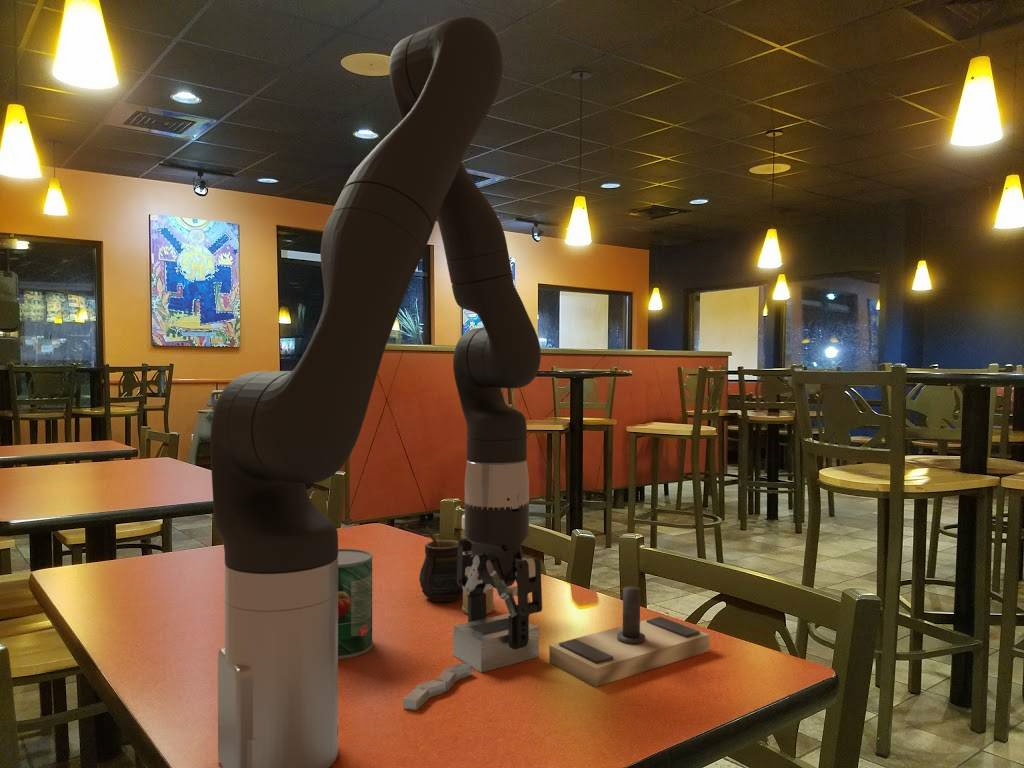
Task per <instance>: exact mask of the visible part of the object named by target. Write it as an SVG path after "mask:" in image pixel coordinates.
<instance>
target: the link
mask: <svg viewBox="0 0 1024 768" xmlns="http://www.w3.org/2000/svg"><path fill="white" fill-rule="evenodd" d="M508 616H510V614H509V612H508V613H505V614H501V615H494V616H492V617H486V619H481V620H477V621H472V622H468V621H467V622H464V623H461V624H456V625H453V629H452V630H453V631H452V632H453V633H452V634H453V639H452V640H453V641H452V642H453V650H452V653H453V656H454V657H455V658H457V659H458V660H460V661H462V663H463V662H465V663H467V664H470V665H472V669H475V671H478V672H480V673H485V672H488V671H492V670H495V669H499V668H503V667H507V666H510V665H514V664H518V663H522V662H526V661H528V660H532V659H537V658H539V656H540V653H539V652H540V627H539V625H535V624H533V623H531V622H529V630H528V631H529V640H528V644H527V645H526V646H525V647H523V648H519V649H515V650H514V649H512V648H510V647H509V645H508Z"/></svg>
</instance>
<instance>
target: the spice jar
mask: <svg viewBox="0 0 1024 768" xmlns="http://www.w3.org/2000/svg"><path fill="white" fill-rule="evenodd" d="M461 529H462V530H461V531H462V538H466V537H465V513H463V515H462V516H461ZM469 571H470V566H469V567H466V569H465V575H468V573H469ZM462 587H463V586H462ZM483 593H485V594H486V615H488V614H489V615H490V614H491V613H492V612H494V610H495V605H494V587H493V586H492V585H490V584H489V585H488V587H487V589H486V591H485V592H483ZM461 610H462V612H463V613H465V614H467V615H468V595H466V594H465V590H464V587H463V595H462V605H461Z"/></svg>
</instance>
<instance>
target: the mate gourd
mask: <svg viewBox="0 0 1024 768" xmlns="http://www.w3.org/2000/svg"><path fill="white" fill-rule="evenodd" d="M424 527H425V526H424ZM425 529H426V530H427V532H428V535H429V536H430V538H431V540H432V541H429V542H427V543H425V544H424V553H425V556H424V557H425V558H424V561H423V563H422V566H421V569H420V571H419V572H420V573H419V578H418V579H419V583H420V588H421V593H423V595H424V596H425V597H426V598H427V599H428V600H430V601H432V602H434V603H450V602H454V601H457V600H459V599H460V598H461V597H463V587H462V586H458V584H457V555H458V540H452V539H446V540H445V539H443V540H438V539H437V538H436V537H435V535H434V534H433V532H432V531H431V529H430V527H429V526H426V527H425Z"/></svg>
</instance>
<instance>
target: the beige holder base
mask: <svg viewBox="0 0 1024 768" xmlns="http://www.w3.org/2000/svg"><path fill="white" fill-rule="evenodd" d="M548 646H549V647H548V649H549V653H548V654H549V657H548V659H549V661H548V662H549V664H552V665H554V667H557V668H559V669H561V670H563V672H564V671H565V672H567V673H568V674H569V675H572V676H574V677H576V678H578V679H580V680H582V681H584V682H585V683H587V684H589V685H591V686H593V687H595V688H596V687H600V686H604V685H607V684H610V683H613V682H616V681H620V680H622V679H626V678H628V677H632V676H635V675H639V674H641V673H644V672H648V671H650V670H654V669H657V668H659V667H664V666H666V665H670V664H673V663H675V662H678V661H682V660H686V659H688V658H692V657H695V656H698V655H701V654H704V653H707V652H710V634H709V633H707V632H704V631H701V630H699V629H697V628H694V627H691V626H687V625H685V624H682V623H680V622H677V621H674V620H672V619H669V618H667V617H664V616H661V615H659V616H655V617H651V618H648V619H643V620H641V588H640V587H638V586H632V585H629V586H627V585H626V586H624V587H623V588H622V625H621V626H617V627H613V628H610V629H606V630H602V631H598V632H594V633H590V634H587V635H583V636H579V637H576V638H573V639H568V640H567V639H566V640H564V641H560V642H556V643H553V644H549V645H548Z"/></svg>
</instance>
